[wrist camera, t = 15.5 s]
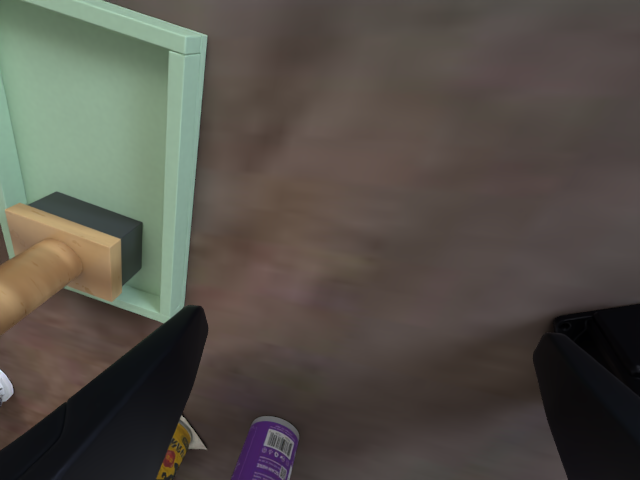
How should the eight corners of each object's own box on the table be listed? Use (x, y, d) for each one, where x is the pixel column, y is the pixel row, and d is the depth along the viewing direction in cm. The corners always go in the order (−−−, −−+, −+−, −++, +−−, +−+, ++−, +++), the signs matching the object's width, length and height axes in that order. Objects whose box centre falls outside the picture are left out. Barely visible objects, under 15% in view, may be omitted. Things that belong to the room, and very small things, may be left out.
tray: (-23, -42, 18) (-71, -50, 16) (207, 35, 17) (186, 35, 16) (36, 254, 27) (11, 270, 26) (184, 305, 27) (169, 325, 25)
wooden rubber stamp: (53, 187, 23) (-244, 321, 12) (145, 220, 23) (-73, 385, 12) (60, 241, 25) (-185, 393, 15) (144, 271, 25) (-41, 447, 15)
